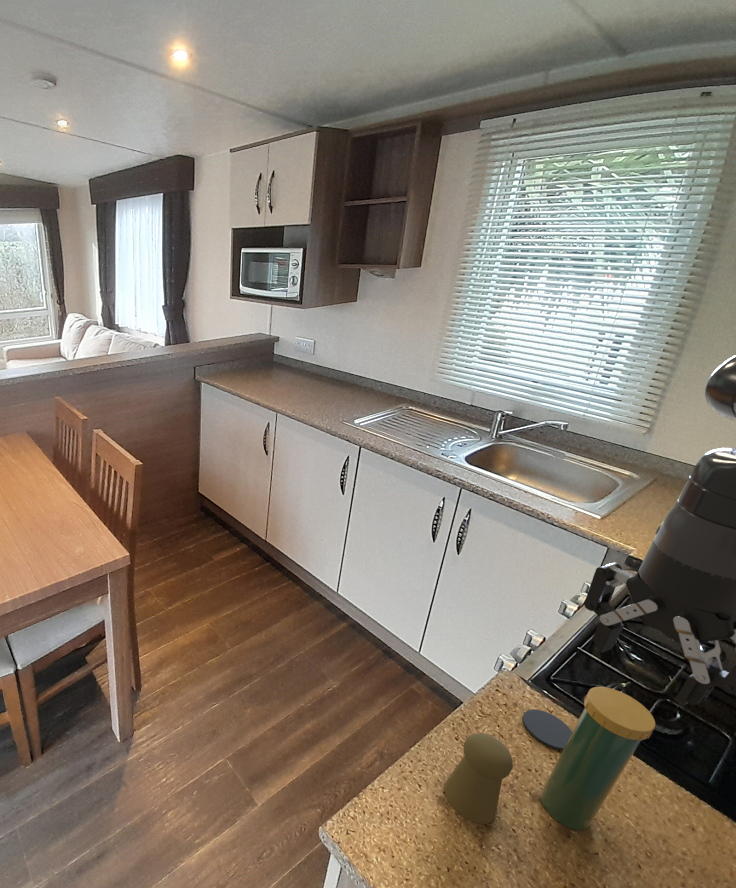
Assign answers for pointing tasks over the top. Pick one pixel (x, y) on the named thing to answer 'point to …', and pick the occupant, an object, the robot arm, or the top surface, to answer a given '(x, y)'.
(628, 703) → the jar lid
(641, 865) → the top surface
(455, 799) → the cork
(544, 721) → the coaster
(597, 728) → the cylinder
